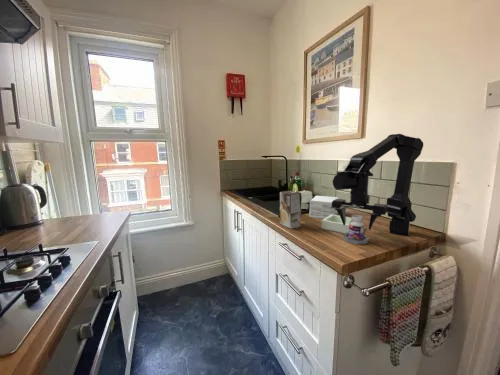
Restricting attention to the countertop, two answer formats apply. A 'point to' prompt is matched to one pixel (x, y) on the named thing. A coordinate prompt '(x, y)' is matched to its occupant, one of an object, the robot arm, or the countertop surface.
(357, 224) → the pill bottle
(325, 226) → the bin
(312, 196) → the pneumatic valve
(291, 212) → the coffee box
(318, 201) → the supplement box
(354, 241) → the collar
